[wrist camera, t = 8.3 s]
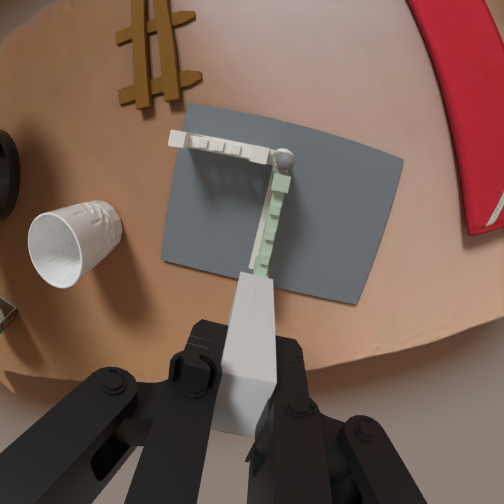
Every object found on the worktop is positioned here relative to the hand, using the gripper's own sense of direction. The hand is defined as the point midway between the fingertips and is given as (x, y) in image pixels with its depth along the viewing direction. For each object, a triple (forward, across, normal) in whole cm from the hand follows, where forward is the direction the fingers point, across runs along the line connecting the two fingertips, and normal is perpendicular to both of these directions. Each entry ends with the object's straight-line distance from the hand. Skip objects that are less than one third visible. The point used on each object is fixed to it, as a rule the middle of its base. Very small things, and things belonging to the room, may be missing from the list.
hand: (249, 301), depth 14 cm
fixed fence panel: (+19, -5, +6) cm, 20 cm away
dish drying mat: (+20, +22, +27) cm, 40 cm away
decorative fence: (+21, -18, +21) cm, 35 cm away
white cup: (+20, -19, -6) cm, 28 cm away
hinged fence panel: (+18, +1, +1) cm, 18 cm away
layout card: (+19, +2, +1) cm, 19 cm away
